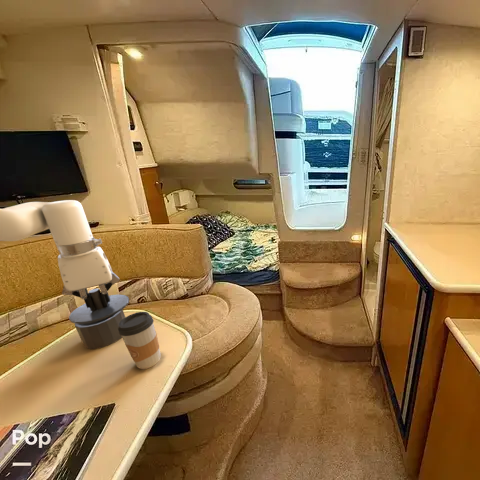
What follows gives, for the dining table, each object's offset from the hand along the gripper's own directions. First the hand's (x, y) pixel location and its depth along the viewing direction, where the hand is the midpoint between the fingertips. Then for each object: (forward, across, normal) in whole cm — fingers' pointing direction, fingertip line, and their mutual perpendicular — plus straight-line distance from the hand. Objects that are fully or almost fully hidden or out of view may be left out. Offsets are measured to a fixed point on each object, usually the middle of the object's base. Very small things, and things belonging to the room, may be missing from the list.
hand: (100, 306), depth 77 cm
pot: (+18, +4, -14) cm, 23 cm away
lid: (+1, 0, 0) cm, 1 cm away
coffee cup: (+18, -8, +9) cm, 22 cm away
